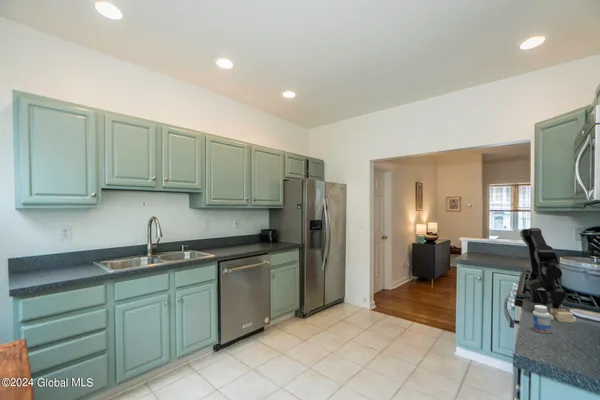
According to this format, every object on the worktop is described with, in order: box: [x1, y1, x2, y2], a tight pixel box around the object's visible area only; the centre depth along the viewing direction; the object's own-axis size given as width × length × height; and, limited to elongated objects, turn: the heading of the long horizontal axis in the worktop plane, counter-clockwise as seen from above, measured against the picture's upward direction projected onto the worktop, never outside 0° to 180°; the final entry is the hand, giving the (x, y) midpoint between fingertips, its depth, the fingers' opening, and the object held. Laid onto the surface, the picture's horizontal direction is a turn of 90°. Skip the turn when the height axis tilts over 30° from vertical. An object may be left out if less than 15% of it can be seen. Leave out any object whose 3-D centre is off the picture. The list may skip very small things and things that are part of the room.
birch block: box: [549, 307, 575, 323], centre depth 125 cm, size 7×5×4 cm
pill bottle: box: [532, 304, 552, 334], centre depth 114 cm, size 6×5×10 cm
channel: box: [547, 310, 577, 322], centre depth 129 cm, size 12×9×2 cm
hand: (549, 307), depth 134 cm, fingers open, 9 cm apart
